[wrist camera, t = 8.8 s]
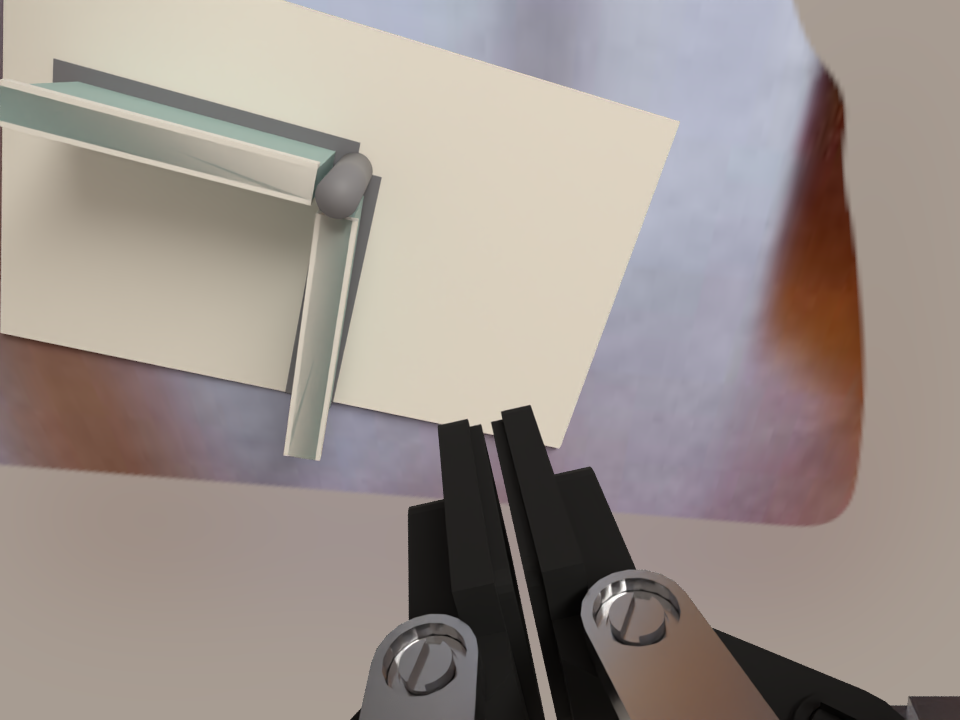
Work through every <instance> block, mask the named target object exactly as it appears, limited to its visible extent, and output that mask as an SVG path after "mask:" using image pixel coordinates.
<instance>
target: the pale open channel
mask: <svg viewBox="0 0 960 720" xmlns="http://www.w3.org/2000/svg"><path fill="white" fill-rule="evenodd" d="M363 199H364V196H362V199H361V201H360V203H359V205H358V207H357V209H356V211H355V212H354V213H353V214H352V215H350V216H349V217H347V218H343V219H334V218H331V217H328V216H327V215H325V214H324V213H323V212H322V211H319V210H318V211H317V213H316V217H315V225H314V232H313V240H312V247H311V255H310V262H309V270H308V277H307V284H306V292H305V299H304V307H303V314H302V322H301V329H300V337H299V344H298V351H297V359H296V366H295V374H294V381H293V389H292V396H291V404H290V411H289V418H288V426H287V433H286V441H285V448H284V456H291V457H298V458H304V459H311V460H317V461H320V458H321V454H322V448H323V442H324V435H325V429H326V423H327V417H328V412H329V408H330V405H331V399H332V393H333V387H334V380H335V374H336V368H337V362H338V355H339V349H340V343H341V336H342V330H343V324H344V318H345V311H346V305H347V299H348V293H349V286H350V280H351V274H352V268H353V261H354V255H355V249H356V243H357V236H358V230H359V224H360V217H361V211H362V205H363Z"/></svg>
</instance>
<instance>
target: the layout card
mask: <svg viewBox="0 0 960 720" xmlns="http://www.w3.org/2000/svg"><path fill="white" fill-rule="evenodd" d="M3 79H12V80H16V81H19V82H23V83H27V84H37V83H57V82H77V81H78V82H82V83H85V84H89V85H93V86H97V87H100V88H104V89H108V90H111V91H115V92H119V93H122V94H126V95H130V96H133V97H137V98H141V99H144V100H148V101H152V102H156V103H159V104H163V105H167V106H170V107H174V108H178V109H181V110H185V111H189V112H192V113H196V114H200V115H203V116H207V117H211V118H215V119H218V120H222V121H226V122H229V123H233V124H237V125H240V126H244V127H248V128H251V129H255V130H259V131H262V132H266V133H270V134H274V135H277V136H281V137H285V138H288V139H292V140H296V141H299V142H303V143H307V144H310V145H314V146H318V147H321V148H325V149H329V150H333V151H336V152H335V158H334V163H333V167H334V166H335V164H336V163H337V162H338V161H339V160H340V159H341V158H342V157H343V156H344V155H345V154H347V153H351V152H357V153H361V154H363V155H365V156H366V157H367V158H368V159H369V161H370V162H371V165H372V169H373V173H372V177H371V179H370V182H369V184H368V186H367V188H366V190H365V192H364V194H363V196H364V199H363V205H362V211H361V217H360V224H359V230H358V236H357V243H356V249H355V255H354V261H353V268H352V274H351V280H350V286H349V293H348V299H347V305H346V311H345V318H344V324H343V330H342V336H341V343H340V349H339V355H338V362H337V368H336V374H335V380H334V387H333V393H332V399H331V402H337V403H342V404H347V405H352V406H357V407H361V408H366V409H371V410H376V411H381V412H386V413H390V414H395V415H400V416H405V417H410V418H415V419H419V420H424V421H429V422H434V423H439V424H446V423H451V422H455V421H460V420H464V419H468V421H469V425H470V426H474V425H479V424H481V425H482V429H483V433H487V434H492V435H494V434H493V430H492V425H491V422H492V421H497V420H501V419H502V416H501V411H504V410H509V409H513V408H518V407H522V406H527V405H531V408H532V410H533V413H534V416H535V419H536V422H537V425H538V428H539V431H540V434H541V437H542V440H543V443H544V445H545V446H550V447H555V448H560V446H561V444H562V441H563V438H564V435H565V433H566V430H567V427H568V425H569V422H570V419H571V416H572V414H573V411H574V408H575V406H576V403H577V400H578V397H579V395H580V392H581V389H582V387H583V384H584V381H585V378H586V376H587V373H588V370H589V368H590V365H591V362H592V359H593V357H594V354H595V351H596V349H597V346H598V343H599V340H600V338H601V335H602V332H603V330H604V327H605V324H606V321H607V319H608V316H609V313H610V311H611V308H612V305H613V302H614V300H615V297H616V294H617V292H618V289H619V286H620V283H621V281H622V278H623V275H624V273H625V270H626V267H627V264H628V262H629V259H630V256H631V254H632V251H633V248H634V245H635V243H636V240H637V237H638V235H639V232H640V229H641V226H642V224H643V221H644V218H645V216H646V213H647V210H648V207H649V205H650V202H651V199H652V197H653V194H654V191H655V188H656V186H657V183H658V180H659V178H660V175H661V172H662V169H663V167H664V164H665V161H666V159H667V156H668V153H669V150H670V148H671V145H672V142H673V140H674V137H675V134H676V131H677V129H678V126H679V123H680V122H679V121H676V120H673V119H669V118H666V117H663V116H660V115H656V114H653V113H650V112H647V111H643V110H640V109H637V108H633V107H630V106H627V105H624V104H620V103H617V102H614V101H611V100H607V99H604V98H601V97H598V96H594V95H591V94H588V93H584V92H581V91H578V90H575V89H571V88H568V87H565V86H562V85H558V84H555V83H552V82H548V81H545V80H542V79H539V78H535V77H532V76H529V75H526V74H522V73H519V72H516V71H512V70H509V69H506V68H503V67H499V66H496V65H493V64H490V63H486V62H483V61H480V60H477V59H473V58H470V57H467V56H463V55H460V54H457V53H454V52H450V51H447V50H444V49H441V48H437V47H434V46H431V45H427V44H424V43H421V42H418V41H414V40H411V39H408V38H405V37H401V36H398V35H395V34H391V33H388V32H385V31H382V30H378V29H375V28H372V27H369V26H365V25H362V24H359V23H356V22H352V21H349V20H346V19H342V18H339V17H336V16H333V15H329V14H326V13H323V12H320V11H316V10H313V9H310V8H306V7H303V6H300V5H297V4H293V3H290V2H287V1H284V0H4V13H3ZM318 210H319V211H321V210H320V209H319V207H318V206H317V203H316V200H315V197H314V200H313V203H312V205H311V206H310V205H306V204H302V203H298V202H294V201H290V200H286V199H282V198H278V197H275V196H271V195H267V194H263V193H259V192H255V191H251V190H247V189H243V188H239V187H235V186H231V185H228V184H224V183H220V182H216V181H212V180H208V179H204V178H200V177H196V176H192V175H188V174H185V173H181V172H177V171H173V170H169V169H165V168H161V167H157V166H153V165H149V164H145V163H141V162H138V161H134V160H130V159H126V158H122V157H118V156H114V155H110V154H106V153H102V152H98V151H95V150H91V149H87V148H83V147H79V146H75V145H71V144H67V143H63V142H59V141H55V140H51V139H48V138H44V137H40V136H36V135H32V134H28V133H24V132H20V131H16V130H12V129H8V128H5V127H2V228H1V333H4V334H8V335H13V336H18V337H23V338H28V339H33V340H37V341H42V342H47V343H52V344H57V345H62V346H66V347H71V348H76V349H81V350H86V351H91V352H96V353H100V354H105V355H110V356H115V357H120V358H125V359H129V360H134V361H139V362H144V363H149V364H154V365H158V366H163V367H168V368H173V369H178V370H183V371H187V372H192V373H197V374H202V375H207V376H212V377H216V378H221V379H226V380H231V381H236V382H241V383H245V384H250V385H255V386H260V387H265V388H270V389H274V390H279V391H284V392H285V393H289V394H292V389H293V381H294V374H295V366H296V359H297V351H298V344H299V337H300V329H301V322H302V314H303V307H304V299H305V292H306V284H307V277H308V270H309V262H310V255H311V247H312V240H313V232H314V225H315V217H316V213H317V211H318Z"/></svg>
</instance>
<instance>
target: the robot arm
mask: <svg viewBox="0 0 960 720" xmlns="http://www.w3.org/2000/svg"><path fill="white" fill-rule="evenodd" d="M501 416H502V419H501V420H497V421H492V422H491V425H492V430H493V434H494V439H495V443H496V448H497V452H498V457H499V461H500V466H501V470H502V475H503V479H504V484H505V488H506V493H507V497H508V502H509V506H510V511H511V515H512V520H513V524H514V529H515V533H516V538H517V542H518V547H519V551H520V556H521V561H522V565H523V569H524V574H525V579H526V583H527V588H528V592H529V596H530V601H531V605H532V610H533V614H534V618H535V623H536V628H537V632H538V637H539V641H540V646H541V650H542V655H543V659H544V664H545V668H546V672H547V677H548V681H549V686H550V690H551V695H552V699H553V703H554V708H555V713H556V717H557V720H960V696H909V697H908V705H906V706H905V705H904V706H903V705H902V706H901V705H900V706H897V705H895V706H894V705H891V706H890V705H889V704H887V703H886V702H885V701H883V700H881V699H879V698H878V697H876V696H874V695H872V694H870V693H869V692H867V691H865V690H862V689H860V688H858V687H855V686H853V685H850V684H848V683H845V682H843V681H840V680H838V679H836V678H833V677H831V676H828V675H826V674H823V673H821V672H819V671H816V670H814V669H811V668H809V667H806V666H804V665H802V664H799V663H797V662H794V661H792V660H789V659H787V658H785V657H782V656H780V655H777V654H775V653H772V652H770V651H768V650H765V649H763V648H760V647H758V646H755V645H753V644H750V643H748V642H745V641H743V640H741V639H738V638H736V637H733V636H731V635H729V634H726V633H724V632H721V631H719V630H716V629H714V628H712V627H711V626H710V625H709V623H708V622H707V620H706V619H705V618H704V617H703V615H702V614H701V612H700V611H699V610H698V608H697V607H696V606H695V604H694V603H693V601H692V600H691V599H690V598H689V596H688V595H687V593H686V592H685V591H684V590H683V589H682V588H681V587H680V586H679V585H678V584H677V583H676V582H675V581H673V580H671V579H669V578H667V577H666V576H664V575H662V574H659V573H655V572H651V571H647V570H636V568H635V566H634V563H633V561H632V559H631V556H630V554H629V552H628V549H627V547H626V545H625V543H624V540H623V538H622V536H621V533H620V531H619V529H618V526H617V524H616V522H615V519H614V517H613V515H612V512H611V510H610V508H609V505H608V503H607V501H606V498H605V496H604V494H603V491H602V489H601V487H600V485H599V482H598V480H597V478H596V475H595V473H594V471H593V469H592V468H591V467H586V468H581V469H577V470H572V471H568V472H563V473H559V474H554V472H553V469H552V466H551V464H550V461H549V458H548V455H547V452H546V449H545V446H544V443H543V440H542V437H541V434H540V431H539V428H538V425H537V422H536V419H535V416H534V413H533V410H532V408H531V405H527V406H522V407H518V408H513V409H509V410H504V411H501ZM438 435H439V447H440V459H441V471H442V482H443V494H444V499H443V500H438V501H434V502H429V503H425V504H421V505H416V506H411V507H409V510H408V558H409V559H408V561H409V562H408V563H409V621H407V622H405V623H403V624H401V625H399V626H398V627H397V628H395V629H394V630H393V631H392V632H390V633H389V634H388V635H387V636H386V637H385V639H384V640H383V641H382V643H381V644H380V645H379V646H378V648H377V650H376V652H375V655H374V657H373V660H372V662H371V667H370V671H369V676H368V681H367V686H366V689H365V695H364V699H363V703H362V708H361V709H360V710H359V711H358V712H357V713H356V714H355V715H354V716H353V718H352V719H351V720H545V717H544V713H543V707H542V702H541V697H540V693H539V688H538V683H537V678H536V673H535V668H534V663H533V658H532V653H531V648H530V644H529V639H528V634H527V629H526V624H525V619H524V614H523V610H522V604H521V599H520V595H519V590H518V585H517V580H516V575H515V570H514V565H513V561H512V556H511V551H510V546H509V542H508V538H507V533H506V529H505V525H504V520H503V516H502V512H501V507H500V503H499V499H498V494H497V490H496V486H495V481H494V477H493V473H492V468H491V464H490V460H489V455H488V451H487V447H486V442H485V438H484V434H483V429H482V425H481V424H479V425H474V426H470V425H469V421H468V419H464V420H460V421H455V422H451V423H446V424H442V425H438Z"/></svg>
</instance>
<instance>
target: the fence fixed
mask: <svg viewBox="0 0 960 720" xmlns="http://www.w3.org/2000/svg"><path fill="white" fill-rule="evenodd" d="M0 126H1V127H5V128H8V129H12V130H16V131H20V132H24V133H28V134H32V135H36V136H40V137H44V138H48V139H51V140H55V141H59V142H63V143H67V144H71V145H75V146H79V147H83V148H87V149H91V150H95V151H98V152H102V153H106V154H110V155H114V156H118V157H122V158H126V159H130V160H134V161H138V162H141V163H145V164H149V165H153V166H157V167H161V168H165V169H169V170H173V171H177V172H181V173H185V174H188V175H192V176H196V177H200V178H204V179H208V180H212V181H216V182H220V183H224V184H228V185H231V186H235V187H239V188H243V189H247V190H251V191H255V192H259V193H263V194H267V195H271V196H275V197H278V198H282V199H286V200H290V201H294V202H298V203H302V204H306V205H310V206H311V205H312V203H313V200H314V197H315V200H316V203H317V206H318V207H319V209H320V210H321V211H322V212H323V213H324V214H325V215H327V216H328V217H331V218H334V219H343V218H347V217H349V216H350V215H352V214H353V213H354V212H355V211H356V209H357V207H358V205H359V203H360V201H361V199H362V196H363V194H364V192H365V190H366V188H367V186H368V184H369V182H370V179H371V177H372V173H373V169H372V165H371V162H370V161H369V159H368V158H367V157H366V156H365V155H363V154H361V153H357V152H351V153H347V154H345V155H344V156H343V157H342V158H341V159H340V160H339V161H338V162H337V163H336V164H335V166H334V167H333V163H334V158H335V152H336V151H333V150H329V149H325V148H321V147H318V146H314V145H310V144H307V143H303V142H299V141H296V140H292V139H288V138H285V137H281V136H277V135H274V134H270V133H266V132H262V131H259V130H255V129H251V128H248V127H244V126H240V125H237V124H233V123H229V122H226V121H222V120H218V119H215V118H211V117H207V116H203V115H200V114H196V113H192V112H189V111H185V110H181V109H178V108H174V107H170V106H167V105H163V104H159V103H156V102H152V101H148V100H144V99H141V98H137V97H133V96H130V95H126V94H122V93H119V92H115V91H111V90H108V89H104V88H100V87H97V86H93V85H89V84H85V83H82V82H78V81H77V82H57V83H37V84H27V83H23V82H19V81H16V80H12V79H0Z"/></svg>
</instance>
